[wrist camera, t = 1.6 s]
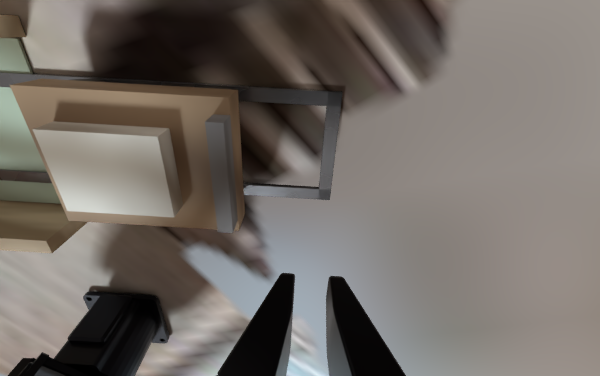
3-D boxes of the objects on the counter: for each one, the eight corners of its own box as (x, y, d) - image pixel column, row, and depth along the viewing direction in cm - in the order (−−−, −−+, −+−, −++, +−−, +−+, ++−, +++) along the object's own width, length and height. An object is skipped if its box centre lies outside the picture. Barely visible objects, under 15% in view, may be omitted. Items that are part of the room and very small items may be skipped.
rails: (329, 197, 20) (329, 200, 20) (-74, 173, 20) (-79, 175, 20) (341, 91, 16) (342, 92, 16) (-148, 63, 17) (-155, 63, 16)
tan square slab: (249, 199, 20) (233, 244, 16) (105, 190, 20) (52, 233, 16) (244, 83, 16) (221, 104, 12) (66, 73, 16) (-17, 90, 12)
